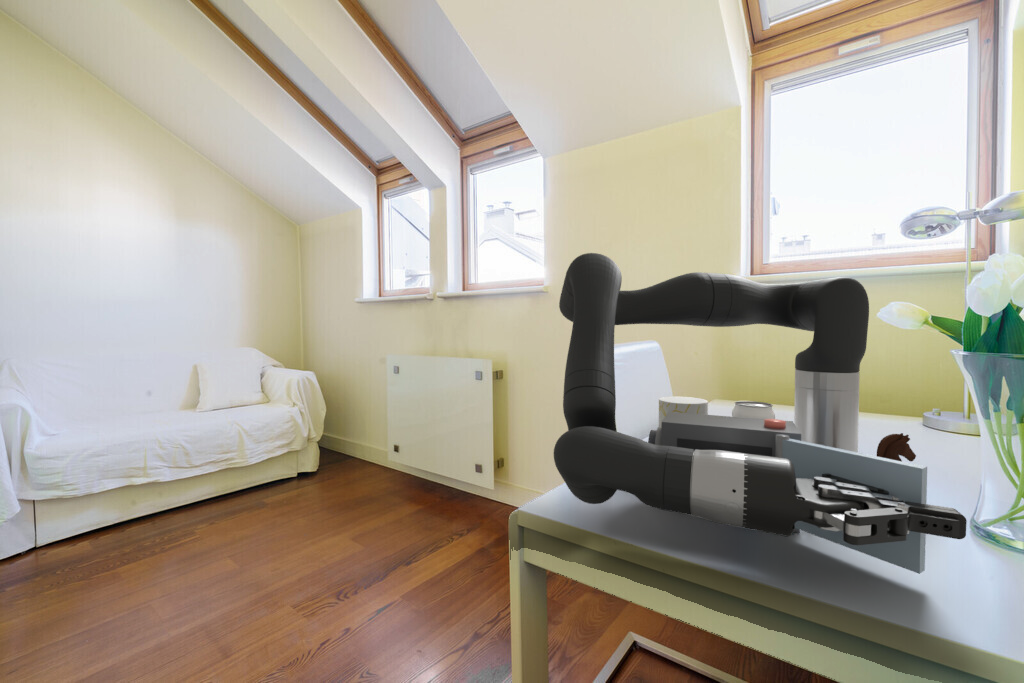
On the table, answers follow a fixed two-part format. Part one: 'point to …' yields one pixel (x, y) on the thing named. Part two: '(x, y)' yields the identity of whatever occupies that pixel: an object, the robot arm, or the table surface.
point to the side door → (870, 471)
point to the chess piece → (895, 447)
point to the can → (753, 410)
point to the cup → (681, 406)
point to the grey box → (722, 433)
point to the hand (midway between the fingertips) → (961, 524)
